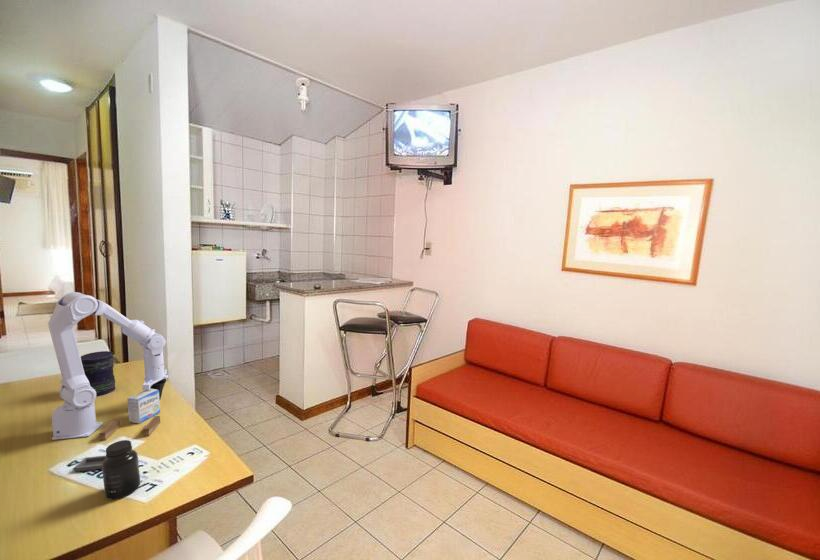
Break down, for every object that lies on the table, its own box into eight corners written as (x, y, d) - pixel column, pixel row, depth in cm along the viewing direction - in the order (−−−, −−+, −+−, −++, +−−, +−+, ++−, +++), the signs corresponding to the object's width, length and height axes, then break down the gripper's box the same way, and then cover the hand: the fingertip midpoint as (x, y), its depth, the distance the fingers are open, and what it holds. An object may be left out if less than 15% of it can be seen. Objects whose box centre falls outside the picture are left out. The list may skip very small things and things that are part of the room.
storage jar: (119, 390, 140) (117, 354, 138) (87, 399, 132) (84, 361, 130) (110, 384, 145) (107, 349, 143) (78, 393, 137) (75, 356, 135)
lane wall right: (143, 436, 110) (143, 429, 109) (155, 423, 117) (154, 416, 117) (149, 436, 110) (148, 428, 110) (160, 422, 118) (160, 415, 117)
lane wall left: (100, 440, 107) (99, 433, 106) (114, 426, 114) (114, 419, 114) (105, 440, 107) (105, 432, 107) (120, 426, 115) (119, 419, 114)
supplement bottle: (118, 481, 90) (114, 437, 89) (146, 480, 91) (143, 436, 89) (97, 501, 83) (92, 454, 82) (127, 500, 84) (124, 453, 82)
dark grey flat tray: (74, 472, 93) (74, 468, 93) (85, 461, 97) (85, 457, 97) (114, 467, 95) (114, 463, 95) (123, 457, 99) (123, 453, 99)
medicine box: (139, 424, 116) (137, 399, 115) (128, 422, 117) (126, 397, 116) (160, 412, 124) (159, 389, 123) (150, 411, 125) (148, 387, 124)
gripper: (158, 371, 121) (160, 408, 123) (174, 357, 135) (176, 391, 137) (134, 373, 120) (137, 410, 121) (153, 358, 134) (155, 392, 135)
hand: (156, 400), depth 129 cm, fingers closed
